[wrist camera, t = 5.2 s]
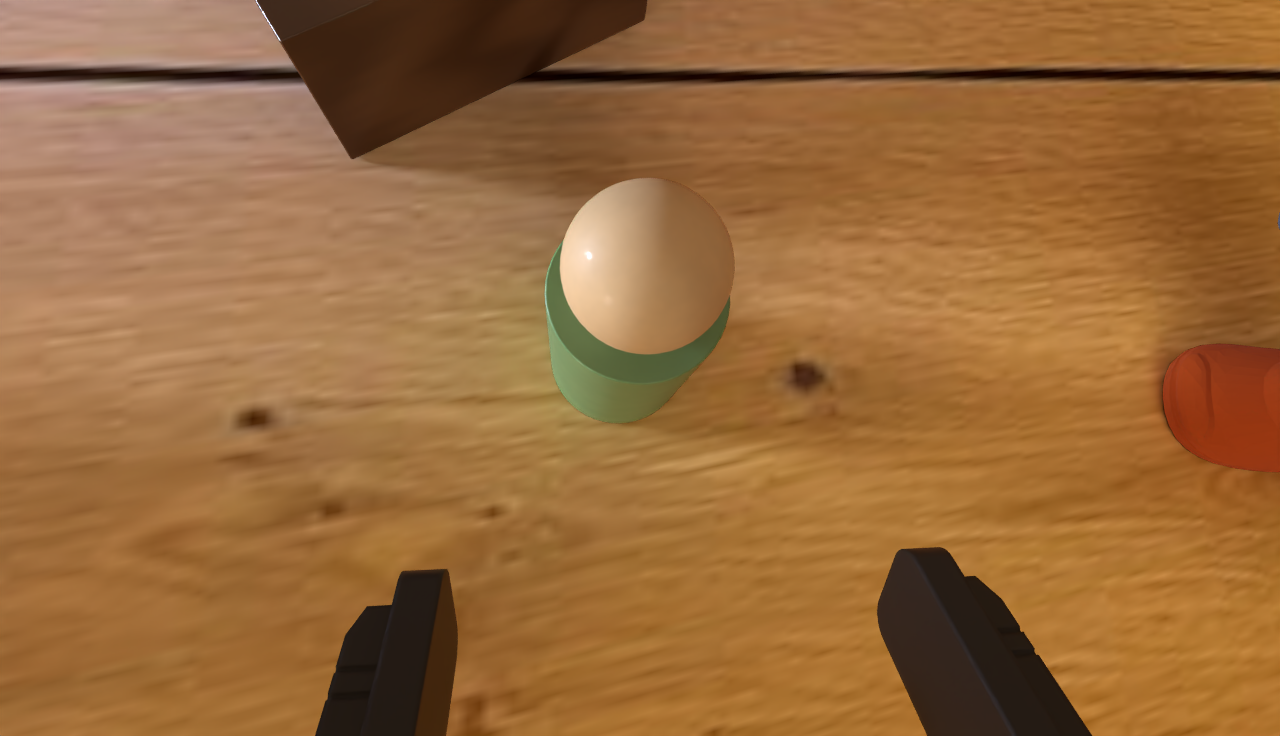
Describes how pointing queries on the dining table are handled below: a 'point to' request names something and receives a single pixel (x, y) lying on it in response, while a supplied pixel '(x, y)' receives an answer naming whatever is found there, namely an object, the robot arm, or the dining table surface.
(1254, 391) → the toy drill
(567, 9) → the walnut block
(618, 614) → the dining table surface
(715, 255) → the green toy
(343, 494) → the dining table surface
